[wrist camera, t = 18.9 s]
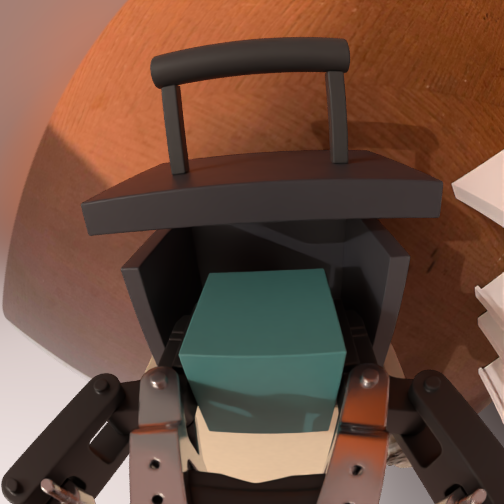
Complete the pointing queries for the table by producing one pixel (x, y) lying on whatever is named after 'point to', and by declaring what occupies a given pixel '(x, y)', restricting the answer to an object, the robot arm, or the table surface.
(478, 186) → the white desk organizer
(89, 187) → the table surface
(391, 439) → the decorative bird
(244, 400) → the block
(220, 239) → the drawer
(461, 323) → the table surface
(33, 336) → the table surface
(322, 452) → the beige hollow box
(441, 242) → the table surface
